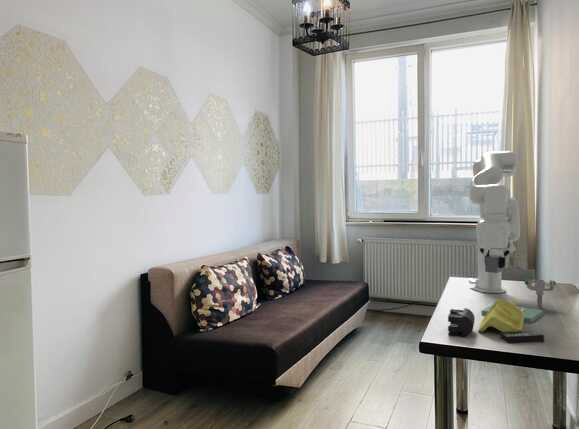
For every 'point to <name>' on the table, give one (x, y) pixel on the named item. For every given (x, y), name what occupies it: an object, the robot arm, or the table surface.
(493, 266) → the block
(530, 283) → the mechanical component
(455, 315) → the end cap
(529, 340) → the multiport hub
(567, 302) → the table surface
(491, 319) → the plastic component
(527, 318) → the board
